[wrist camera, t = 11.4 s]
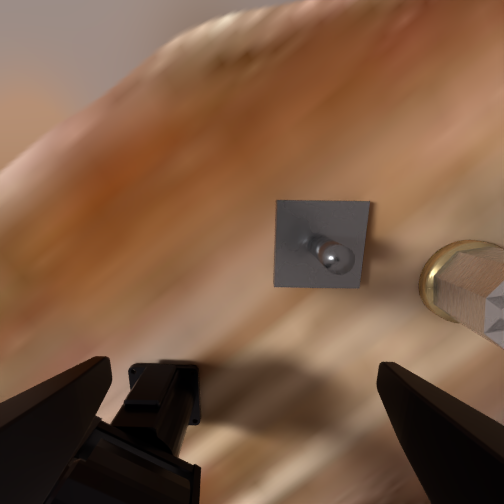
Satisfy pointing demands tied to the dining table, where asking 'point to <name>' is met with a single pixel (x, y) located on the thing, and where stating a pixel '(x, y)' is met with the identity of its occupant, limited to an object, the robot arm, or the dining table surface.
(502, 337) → the collar
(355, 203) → the stand
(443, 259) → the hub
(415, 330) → the dining table surface
